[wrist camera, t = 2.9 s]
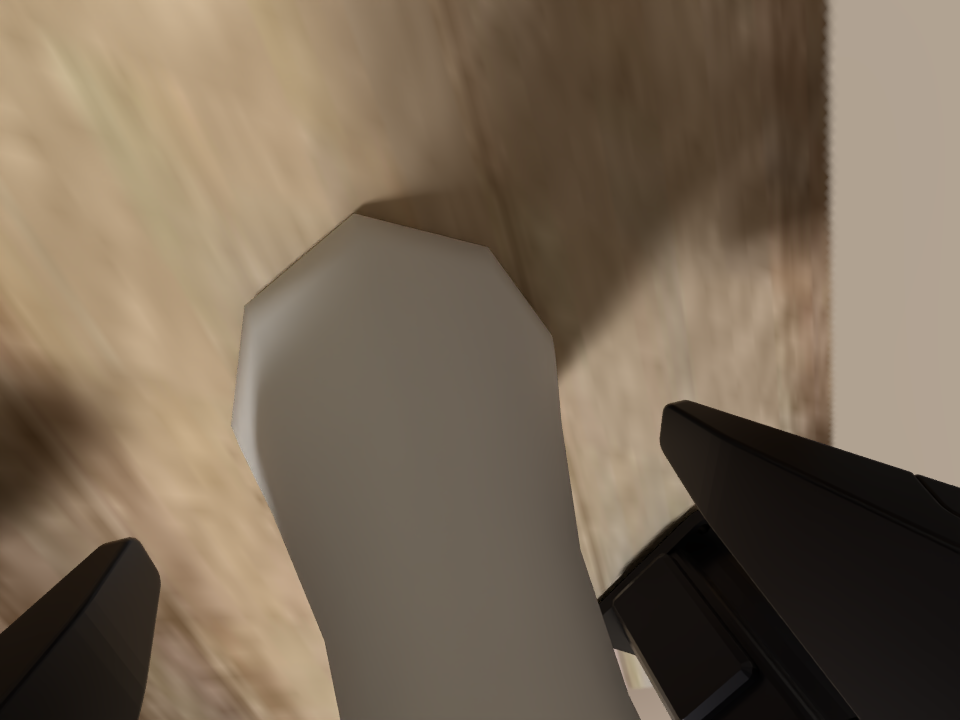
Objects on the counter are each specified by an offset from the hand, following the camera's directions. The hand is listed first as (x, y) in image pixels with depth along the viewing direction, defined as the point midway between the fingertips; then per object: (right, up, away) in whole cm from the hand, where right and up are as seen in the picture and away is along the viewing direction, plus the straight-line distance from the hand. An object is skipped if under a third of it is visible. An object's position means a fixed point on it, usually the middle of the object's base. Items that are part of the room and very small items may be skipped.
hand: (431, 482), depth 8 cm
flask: (-1, +2, +3) cm, 4 cm away
